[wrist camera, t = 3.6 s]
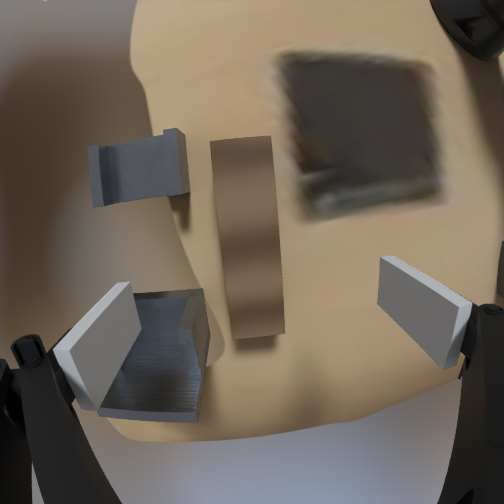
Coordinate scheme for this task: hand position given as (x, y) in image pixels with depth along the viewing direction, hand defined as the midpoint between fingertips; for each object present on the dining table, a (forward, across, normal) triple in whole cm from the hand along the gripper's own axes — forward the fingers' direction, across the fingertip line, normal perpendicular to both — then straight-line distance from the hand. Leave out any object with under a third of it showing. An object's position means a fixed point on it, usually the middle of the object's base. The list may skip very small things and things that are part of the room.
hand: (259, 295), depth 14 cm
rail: (+17, 0, 0) cm, 17 cm away
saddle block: (+16, -10, +8) cm, 21 cm away
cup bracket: (+16, -10, -9) cm, 21 cm away
